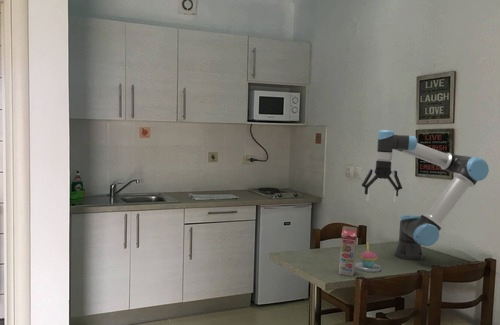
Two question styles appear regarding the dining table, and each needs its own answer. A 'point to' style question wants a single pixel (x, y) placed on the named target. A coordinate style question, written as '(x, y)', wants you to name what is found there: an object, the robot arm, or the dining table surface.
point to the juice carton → (348, 250)
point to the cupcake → (368, 257)
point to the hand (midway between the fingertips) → (380, 201)
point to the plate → (367, 269)
